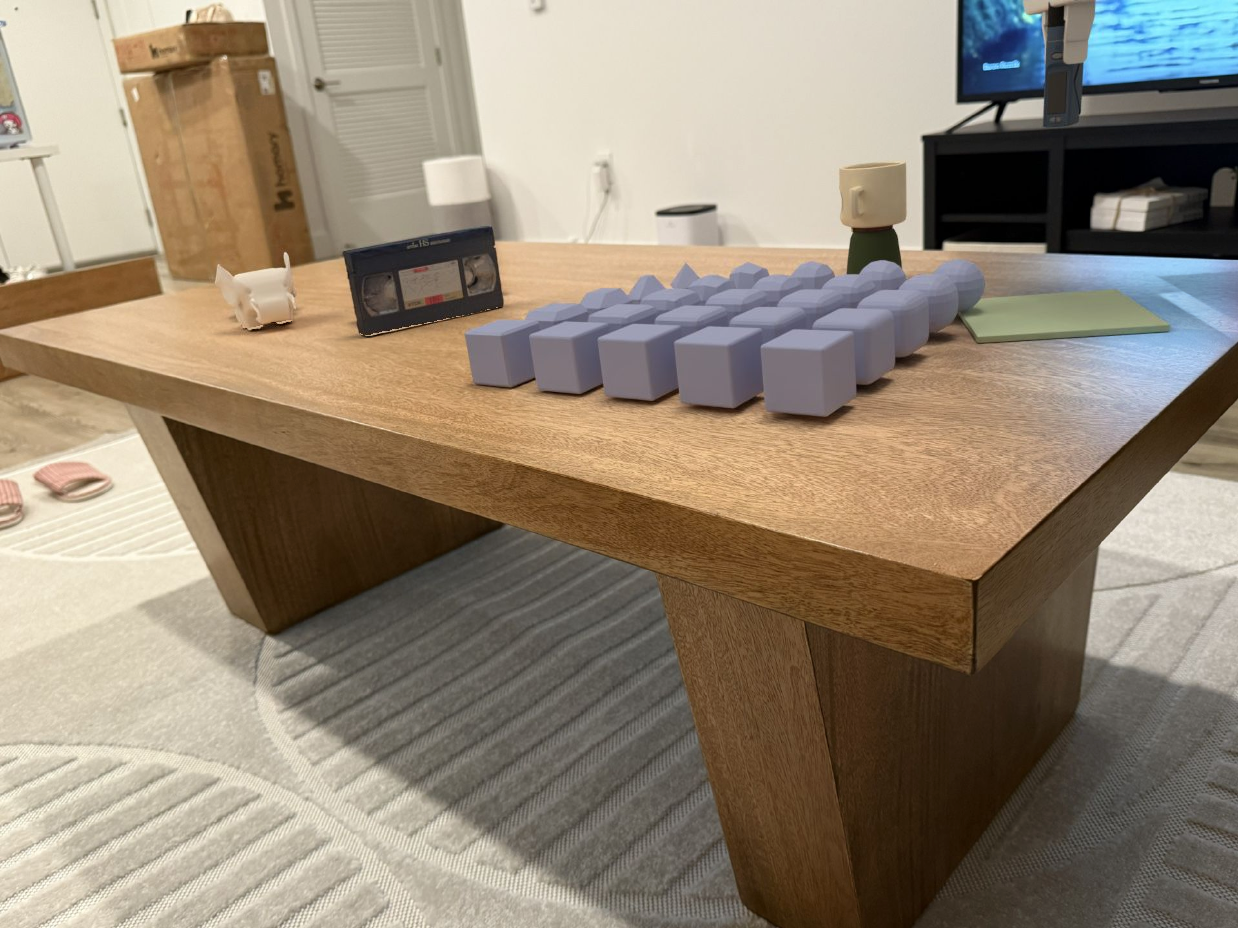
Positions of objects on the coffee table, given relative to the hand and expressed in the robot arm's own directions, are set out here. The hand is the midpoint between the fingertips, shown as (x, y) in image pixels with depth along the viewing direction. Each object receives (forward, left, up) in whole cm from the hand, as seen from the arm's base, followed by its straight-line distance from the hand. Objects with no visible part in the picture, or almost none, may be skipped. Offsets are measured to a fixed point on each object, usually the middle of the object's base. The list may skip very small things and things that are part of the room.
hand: (1064, 64), depth 87 cm
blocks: (+30, +10, -21) cm, 38 cm away
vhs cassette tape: (+68, -13, -22) cm, 72 cm away
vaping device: (0, 0, -5) cm, 5 cm away
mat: (+2, +6, -21) cm, 22 cm away
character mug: (+16, -16, -22) cm, 31 cm away
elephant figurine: (+92, -17, -22) cm, 96 cm away
